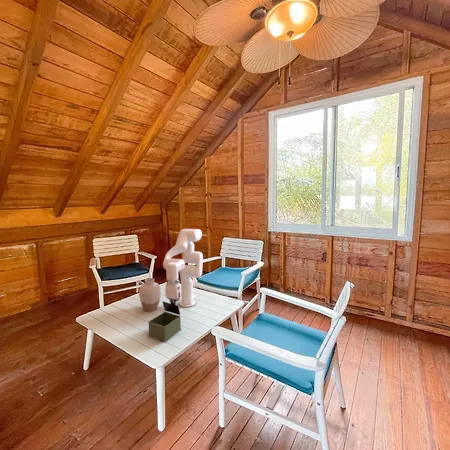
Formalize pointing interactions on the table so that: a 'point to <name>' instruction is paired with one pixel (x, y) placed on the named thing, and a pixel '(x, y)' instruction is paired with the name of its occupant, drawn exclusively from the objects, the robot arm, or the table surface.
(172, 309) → the flap
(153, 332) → the olive green hollow box
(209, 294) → the table surface
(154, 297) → the vase
